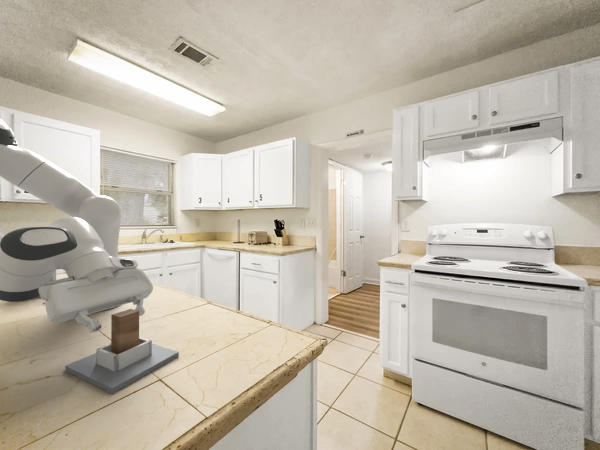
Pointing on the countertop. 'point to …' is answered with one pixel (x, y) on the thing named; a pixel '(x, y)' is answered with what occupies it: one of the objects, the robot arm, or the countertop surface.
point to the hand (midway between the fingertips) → (120, 321)
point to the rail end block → (124, 330)
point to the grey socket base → (121, 365)
